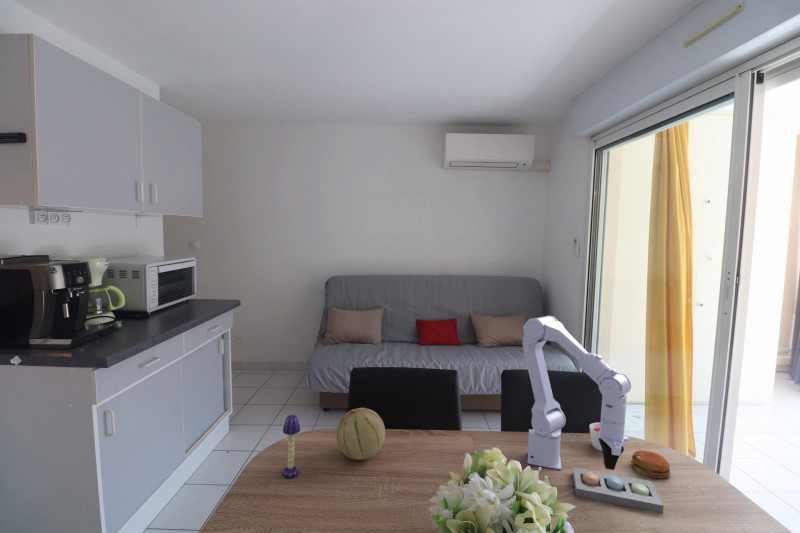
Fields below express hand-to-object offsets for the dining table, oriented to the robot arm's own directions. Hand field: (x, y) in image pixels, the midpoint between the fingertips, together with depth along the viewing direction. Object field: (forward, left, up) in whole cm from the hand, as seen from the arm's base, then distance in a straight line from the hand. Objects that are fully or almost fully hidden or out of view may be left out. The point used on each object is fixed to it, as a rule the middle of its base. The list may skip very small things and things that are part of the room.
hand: (609, 468), depth 111 cm
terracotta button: (-4, 0, -5) cm, 7 cm away
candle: (+3, +26, -7) cm, 27 cm away
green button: (+8, 0, -6) cm, 9 cm away
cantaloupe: (-69, -8, -7) cm, 70 cm away
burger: (+14, +16, -7) cm, 22 cm away
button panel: (+2, 0, -6) cm, 6 cm away
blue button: (+2, 0, -5) cm, 5 cm away
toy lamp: (-83, -24, -7) cm, 87 cm away
